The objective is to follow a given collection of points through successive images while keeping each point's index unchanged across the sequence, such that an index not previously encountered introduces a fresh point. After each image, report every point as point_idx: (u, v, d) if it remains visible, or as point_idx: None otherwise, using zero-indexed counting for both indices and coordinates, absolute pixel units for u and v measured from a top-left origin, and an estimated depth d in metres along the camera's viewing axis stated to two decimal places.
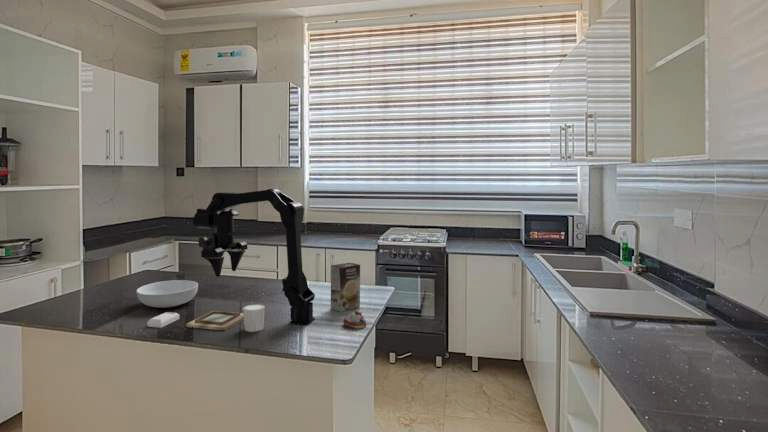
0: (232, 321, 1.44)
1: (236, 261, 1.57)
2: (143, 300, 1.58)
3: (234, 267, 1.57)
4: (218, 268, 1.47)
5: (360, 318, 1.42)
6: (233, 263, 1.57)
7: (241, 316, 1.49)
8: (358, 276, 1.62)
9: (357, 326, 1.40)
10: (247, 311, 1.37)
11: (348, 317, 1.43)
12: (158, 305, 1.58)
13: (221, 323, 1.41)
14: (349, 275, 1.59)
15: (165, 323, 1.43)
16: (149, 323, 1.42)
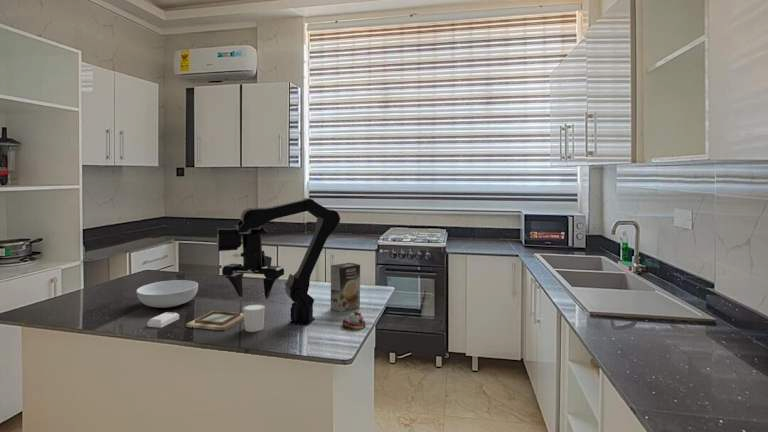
0: (232, 321, 1.44)
1: None
2: (143, 300, 1.58)
3: None
4: None
5: (359, 318, 1.41)
6: None
7: (241, 316, 1.49)
8: (358, 276, 1.62)
9: (356, 327, 1.40)
10: (247, 311, 1.37)
11: (347, 317, 1.43)
12: (158, 305, 1.58)
13: (221, 323, 1.41)
14: (349, 275, 1.59)
15: (165, 323, 1.43)
16: (149, 323, 1.42)
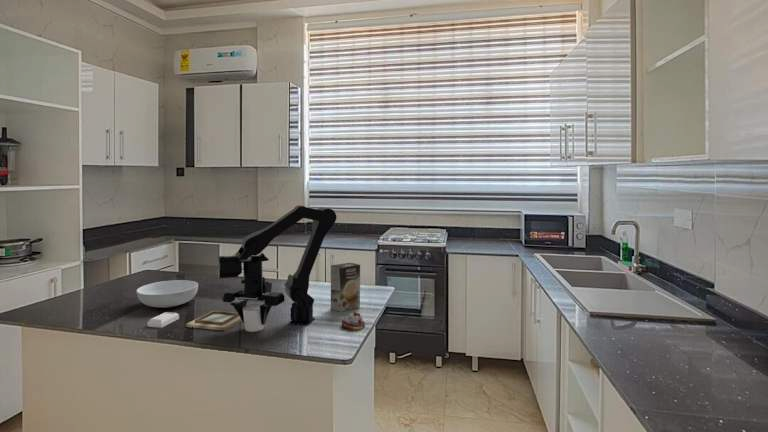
0: (232, 321, 1.44)
1: None
2: (143, 300, 1.58)
3: None
4: None
5: (358, 319, 1.41)
6: None
7: None
8: (358, 276, 1.62)
9: (355, 327, 1.39)
10: (247, 311, 1.37)
11: (346, 318, 1.42)
12: (158, 305, 1.58)
13: (221, 323, 1.41)
14: (349, 275, 1.59)
15: (165, 323, 1.43)
16: (149, 323, 1.42)
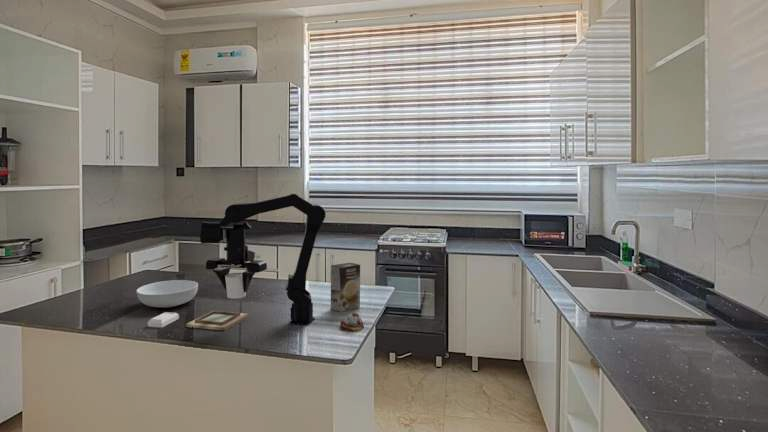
0: (232, 321, 1.44)
1: None
2: (143, 300, 1.58)
3: None
4: None
5: (357, 320, 1.40)
6: None
7: (241, 316, 1.49)
8: (358, 276, 1.62)
9: (354, 328, 1.39)
10: (229, 278, 1.38)
11: (345, 319, 1.42)
12: (158, 305, 1.58)
13: (221, 323, 1.41)
14: (349, 275, 1.59)
15: (166, 323, 1.44)
16: (149, 323, 1.42)
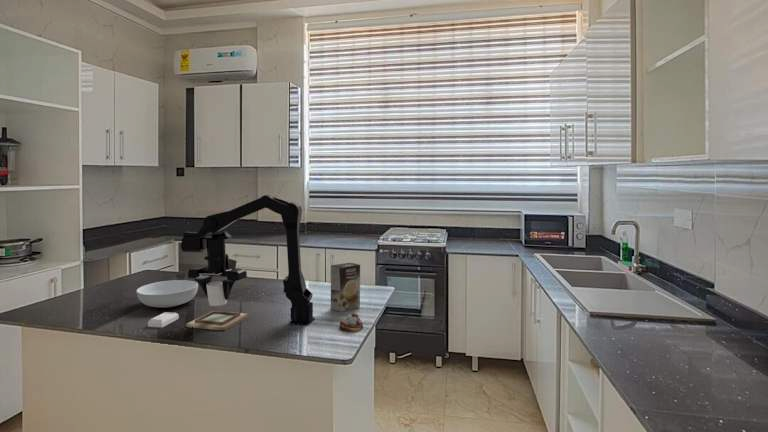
0: (232, 321, 1.44)
1: None
2: (143, 300, 1.58)
3: None
4: None
5: (356, 320, 1.40)
6: None
7: (241, 316, 1.49)
8: (358, 276, 1.62)
9: (353, 328, 1.38)
10: (210, 286, 1.43)
11: (344, 319, 1.41)
12: (158, 305, 1.58)
13: (221, 323, 1.41)
14: (349, 275, 1.59)
15: (166, 323, 1.44)
16: (149, 323, 1.42)
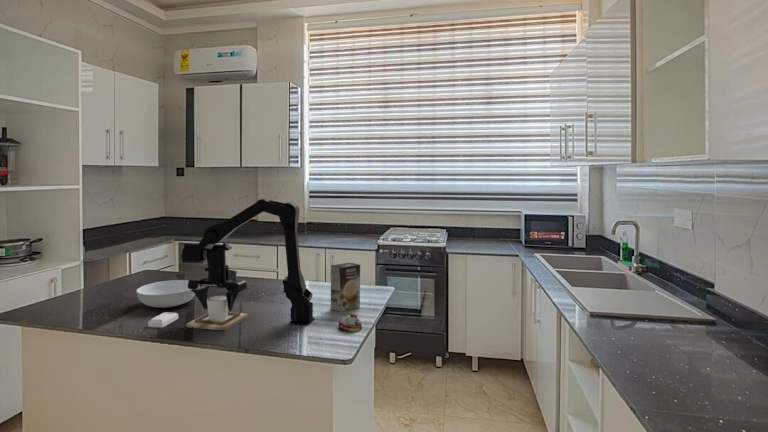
0: (232, 321, 1.44)
1: None
2: (143, 300, 1.58)
3: None
4: None
5: (355, 321, 1.39)
6: None
7: (241, 316, 1.49)
8: (358, 276, 1.62)
9: (352, 329, 1.38)
10: (210, 301, 1.43)
11: (343, 320, 1.41)
12: (158, 305, 1.58)
13: (221, 323, 1.41)
14: (349, 275, 1.59)
15: (166, 323, 1.44)
16: (150, 323, 1.42)
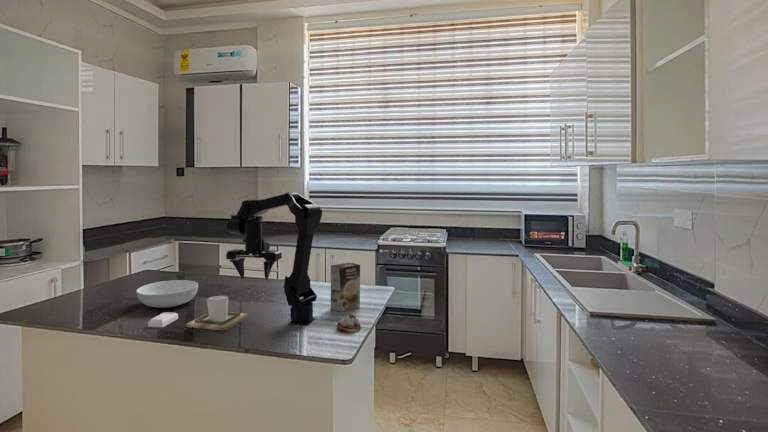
0: (232, 321, 1.44)
1: None
2: (143, 300, 1.58)
3: None
4: None
5: (354, 321, 1.39)
6: None
7: (241, 316, 1.49)
8: (358, 276, 1.62)
9: (350, 330, 1.37)
10: (210, 301, 1.43)
11: (342, 320, 1.40)
12: (158, 305, 1.58)
13: (221, 323, 1.41)
14: (349, 275, 1.59)
15: (166, 323, 1.44)
16: (150, 323, 1.42)
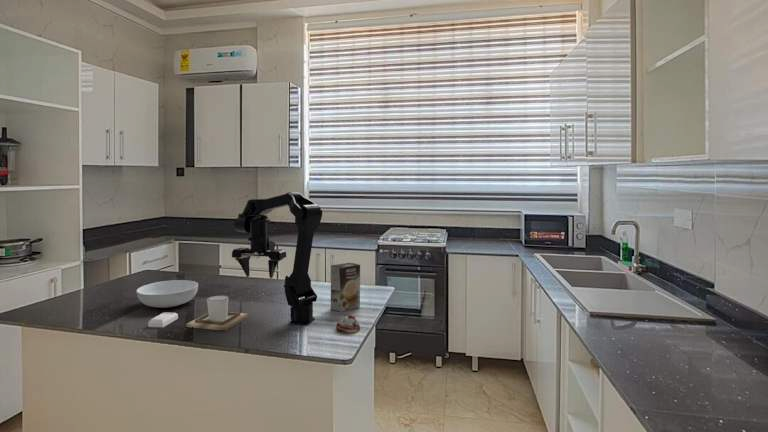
0: (232, 321, 1.44)
1: None
2: (143, 300, 1.58)
3: None
4: None
5: (353, 322, 1.38)
6: None
7: (241, 316, 1.49)
8: (358, 276, 1.62)
9: (349, 330, 1.36)
10: (210, 301, 1.43)
11: (341, 321, 1.40)
12: (158, 305, 1.58)
13: (221, 323, 1.41)
14: (349, 275, 1.59)
15: (166, 323, 1.44)
16: (150, 323, 1.42)
